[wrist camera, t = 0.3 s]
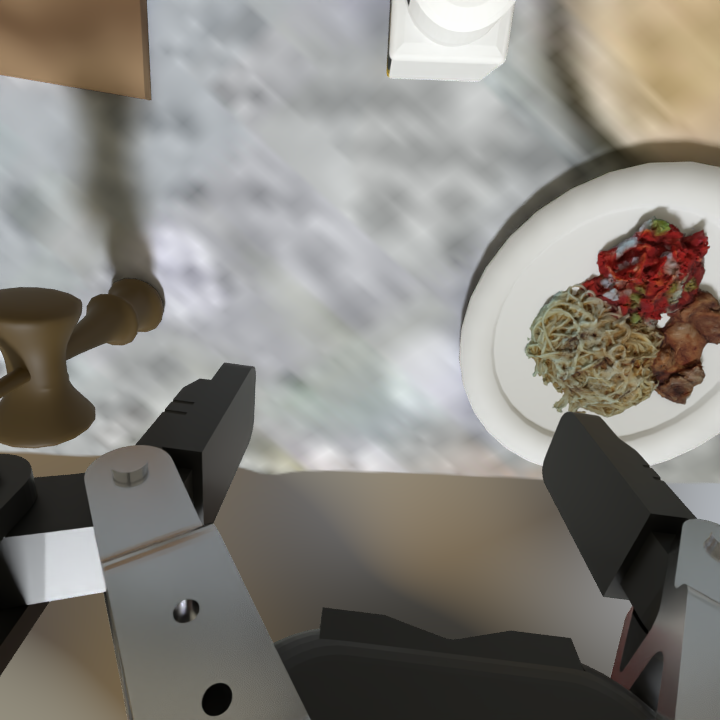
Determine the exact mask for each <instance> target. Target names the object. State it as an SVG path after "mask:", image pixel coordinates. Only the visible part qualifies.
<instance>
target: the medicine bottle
mask: <svg viewBox="0 0 720 720" xmlns="http://www.w3.org/2000/svg"><path fill="white" fill-rule="evenodd" d="M515 1H516V0H390V17H389V36H388V55H387V76H388V77H389V78H395V79H421V80H447V81H472V82H478V81H480V80H482V79H483V78H484V77H486V76H487V75H488V74H490V73H491V72H492V71H494V70H495V69H496V68H498V67H499V66H500V65H502V64H503V63H504V62H505V60H506V58H507V51H508V44H509V38H510V31H511V24H512V18H513V11H514V4H515Z"/></svg>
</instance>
